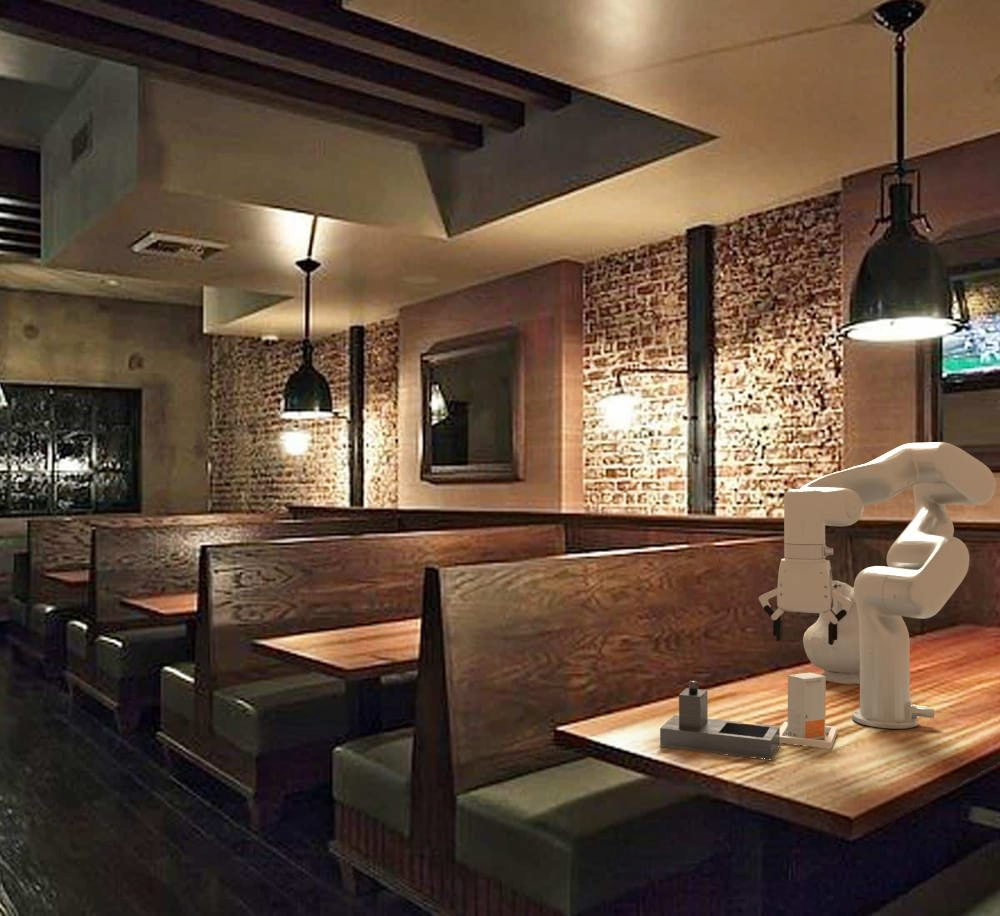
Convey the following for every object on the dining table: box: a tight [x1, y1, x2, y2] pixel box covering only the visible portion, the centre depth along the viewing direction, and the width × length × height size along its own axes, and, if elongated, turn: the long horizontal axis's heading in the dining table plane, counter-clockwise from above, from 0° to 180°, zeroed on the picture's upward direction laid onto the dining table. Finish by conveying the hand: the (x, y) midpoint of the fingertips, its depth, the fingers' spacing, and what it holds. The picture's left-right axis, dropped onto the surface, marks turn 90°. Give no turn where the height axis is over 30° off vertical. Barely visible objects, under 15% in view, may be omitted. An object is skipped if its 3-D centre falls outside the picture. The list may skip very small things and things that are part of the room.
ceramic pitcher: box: [802, 579, 860, 686], centre depth 235 cm, size 22×20×25 cm
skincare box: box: [787, 672, 827, 740], centre depth 184 cm, size 6×4×12 cm
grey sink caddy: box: [659, 680, 781, 760], centre depth 179 cm, size 20×10×12 cm, turn 65°
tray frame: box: [780, 721, 838, 750], centre depth 184 cm, size 10×12×1 cm
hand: (805, 641), depth 185 cm, fingers open, 9 cm apart
